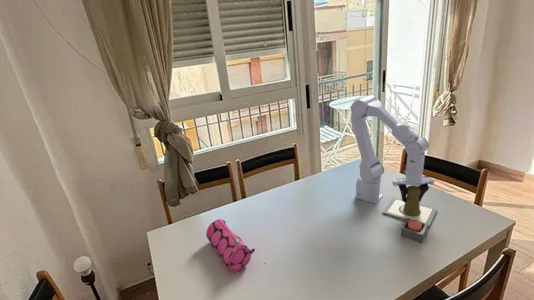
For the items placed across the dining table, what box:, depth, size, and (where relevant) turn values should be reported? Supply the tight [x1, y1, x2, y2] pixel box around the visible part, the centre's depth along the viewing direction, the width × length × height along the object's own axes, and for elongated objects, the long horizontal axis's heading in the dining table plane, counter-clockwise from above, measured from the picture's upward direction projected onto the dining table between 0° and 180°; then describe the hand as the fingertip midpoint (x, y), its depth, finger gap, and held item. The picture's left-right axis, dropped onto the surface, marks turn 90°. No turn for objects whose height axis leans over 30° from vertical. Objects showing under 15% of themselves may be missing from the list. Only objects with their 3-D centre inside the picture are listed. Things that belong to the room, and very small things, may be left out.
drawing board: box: [381, 197, 438, 229], centre depth 122 cm, size 17×13×1 cm
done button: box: [408, 220, 422, 232], centre depth 109 cm, size 4×4×2 cm
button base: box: [399, 218, 429, 244], centre depth 110 cm, size 7×7×4 cm
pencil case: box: [205, 218, 255, 273], centre depth 107 cm, size 21×10×10 cm, turn 34°
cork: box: [403, 185, 421, 216], centre depth 119 cm, size 6×6×11 cm
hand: (411, 200), depth 120 cm, fingers closed on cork, 5 cm apart
